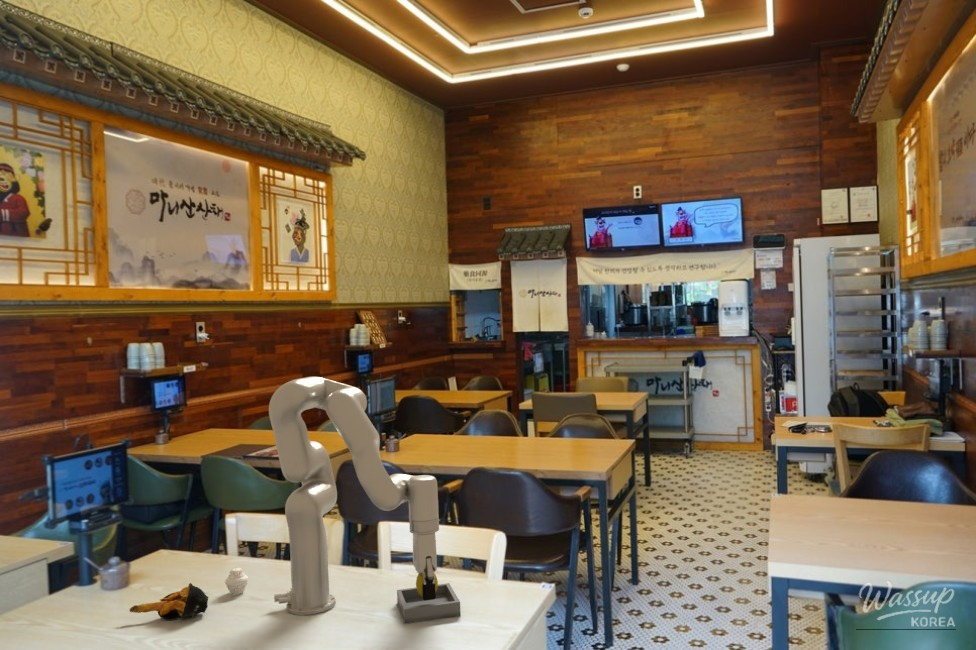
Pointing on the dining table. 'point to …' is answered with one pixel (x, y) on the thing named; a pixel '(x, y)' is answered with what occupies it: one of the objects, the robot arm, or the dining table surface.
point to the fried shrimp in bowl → (177, 604)
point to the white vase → (236, 581)
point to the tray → (428, 604)
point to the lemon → (420, 582)
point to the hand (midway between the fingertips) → (427, 594)
